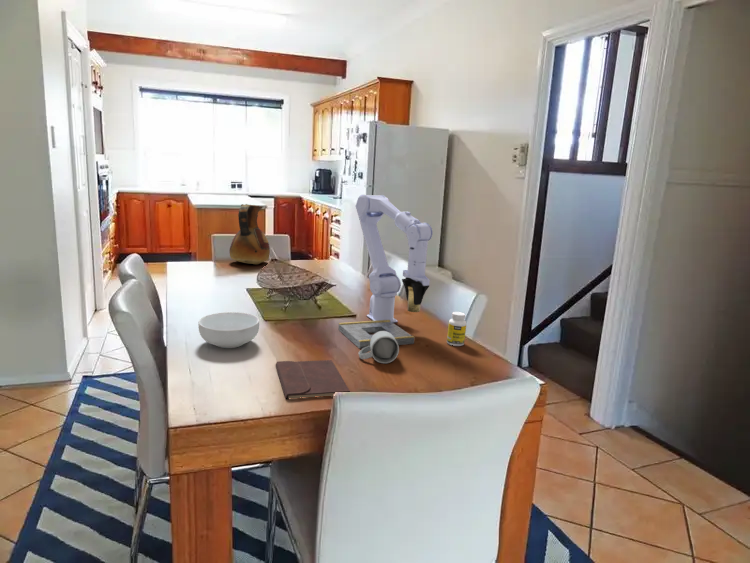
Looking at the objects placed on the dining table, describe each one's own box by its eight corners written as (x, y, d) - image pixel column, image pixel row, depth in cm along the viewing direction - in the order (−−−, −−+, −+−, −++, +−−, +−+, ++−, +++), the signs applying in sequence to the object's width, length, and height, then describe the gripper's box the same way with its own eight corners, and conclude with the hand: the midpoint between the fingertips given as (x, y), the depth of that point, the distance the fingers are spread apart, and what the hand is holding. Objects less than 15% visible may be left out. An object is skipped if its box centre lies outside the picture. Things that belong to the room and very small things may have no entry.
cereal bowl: (197, 335, 154) (197, 312, 153) (254, 332, 160) (254, 310, 159) (200, 356, 139) (199, 330, 137) (263, 352, 145) (263, 327, 143)
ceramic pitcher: (274, 261, 274) (276, 204, 268) (261, 268, 255) (262, 206, 248) (239, 258, 277) (239, 201, 270) (223, 265, 257) (223, 203, 251)
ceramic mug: (393, 353, 150) (395, 327, 149) (398, 363, 142) (399, 337, 141) (357, 353, 149) (358, 327, 147) (359, 364, 141) (360, 336, 139)
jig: (338, 329, 168) (338, 323, 168) (388, 326, 175) (389, 319, 175) (359, 348, 152) (359, 341, 152) (413, 343, 159) (414, 336, 159)
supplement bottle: (450, 346, 159) (454, 316, 157) (443, 341, 164) (446, 311, 162) (467, 346, 160) (470, 315, 158) (459, 340, 165) (462, 310, 163)
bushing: (404, 309, 171) (405, 285, 169) (416, 308, 172) (417, 284, 171) (410, 312, 166) (412, 288, 165) (423, 311, 168) (424, 287, 167)
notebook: (332, 365, 140) (332, 358, 139) (350, 397, 121) (351, 389, 121) (275, 368, 135) (275, 361, 135) (285, 401, 117) (285, 393, 116)
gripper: (395, 257, 171) (392, 297, 174) (416, 265, 158) (413, 309, 161) (414, 256, 174) (411, 296, 177) (437, 265, 161) (433, 307, 164)
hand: (413, 302), depth 169 cm, fingers closed on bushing, 4 cm apart
